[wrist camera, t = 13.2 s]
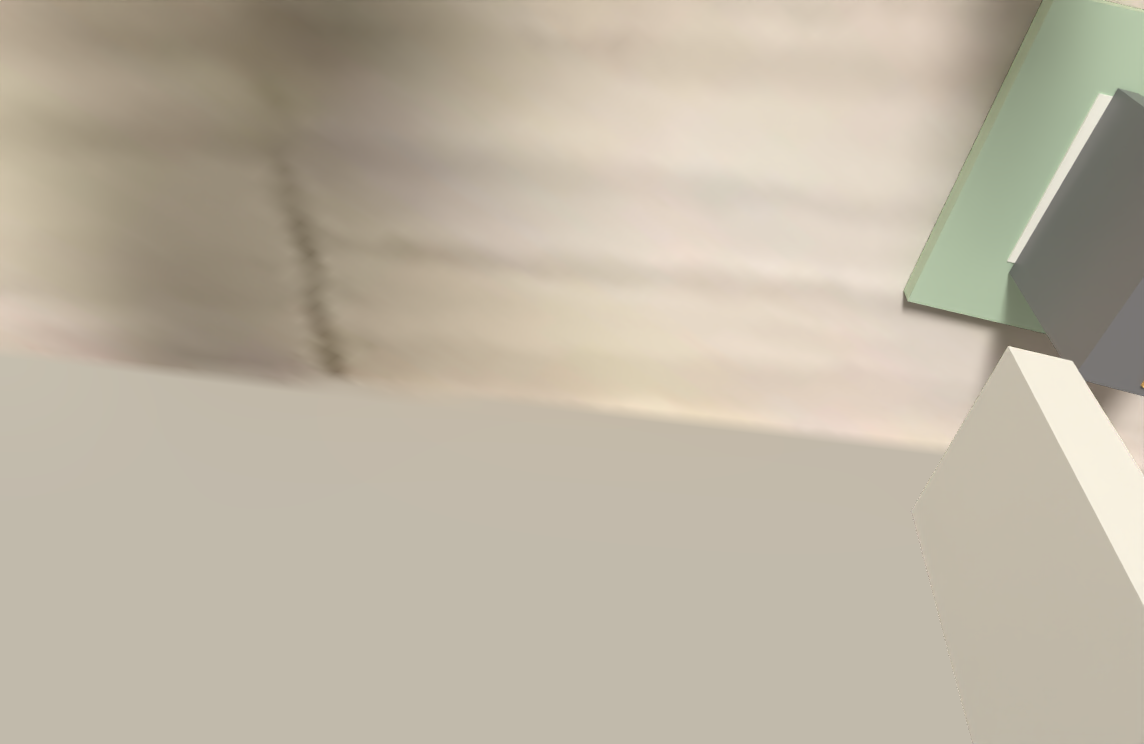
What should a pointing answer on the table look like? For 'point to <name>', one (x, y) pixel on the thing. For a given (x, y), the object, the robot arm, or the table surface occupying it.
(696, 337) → the table surface
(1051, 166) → the board
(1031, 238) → the plug housing
